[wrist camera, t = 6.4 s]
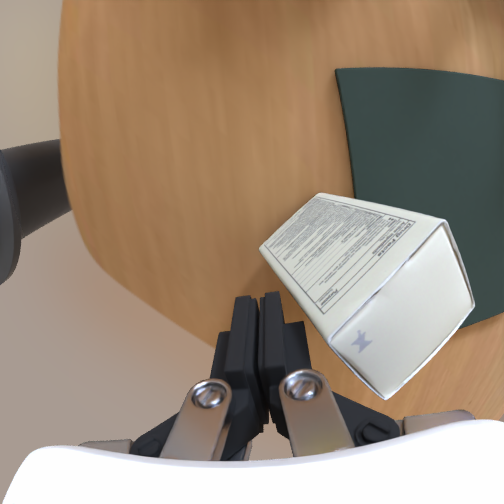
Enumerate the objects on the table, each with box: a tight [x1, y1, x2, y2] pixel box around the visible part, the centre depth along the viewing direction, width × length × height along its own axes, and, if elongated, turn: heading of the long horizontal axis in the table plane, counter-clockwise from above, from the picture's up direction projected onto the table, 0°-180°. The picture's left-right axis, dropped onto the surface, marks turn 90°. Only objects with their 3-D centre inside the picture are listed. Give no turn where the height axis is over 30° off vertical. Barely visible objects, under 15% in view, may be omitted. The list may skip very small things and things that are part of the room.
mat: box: [335, 68, 504, 329], centre depth 17 cm, size 16×20×1 cm
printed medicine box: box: [259, 193, 475, 400], centre depth 13 cm, size 5×4×10 cm
